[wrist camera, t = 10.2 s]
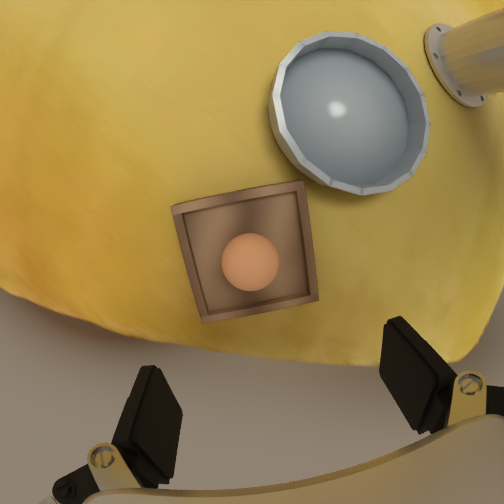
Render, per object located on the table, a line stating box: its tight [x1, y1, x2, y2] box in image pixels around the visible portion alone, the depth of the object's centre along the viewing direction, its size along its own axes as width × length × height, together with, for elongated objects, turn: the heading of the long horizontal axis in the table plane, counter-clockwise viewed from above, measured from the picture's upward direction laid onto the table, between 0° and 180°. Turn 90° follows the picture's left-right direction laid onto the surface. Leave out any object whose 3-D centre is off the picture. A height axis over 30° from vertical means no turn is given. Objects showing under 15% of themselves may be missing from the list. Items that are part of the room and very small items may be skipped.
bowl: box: [268, 31, 430, 196], centre depth 22 cm, size 16×16×4 cm
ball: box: [221, 233, 279, 291], centre depth 24 cm, size 5×5×5 cm
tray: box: [171, 180, 319, 323], centre depth 26 cm, size 12×12×2 cm
